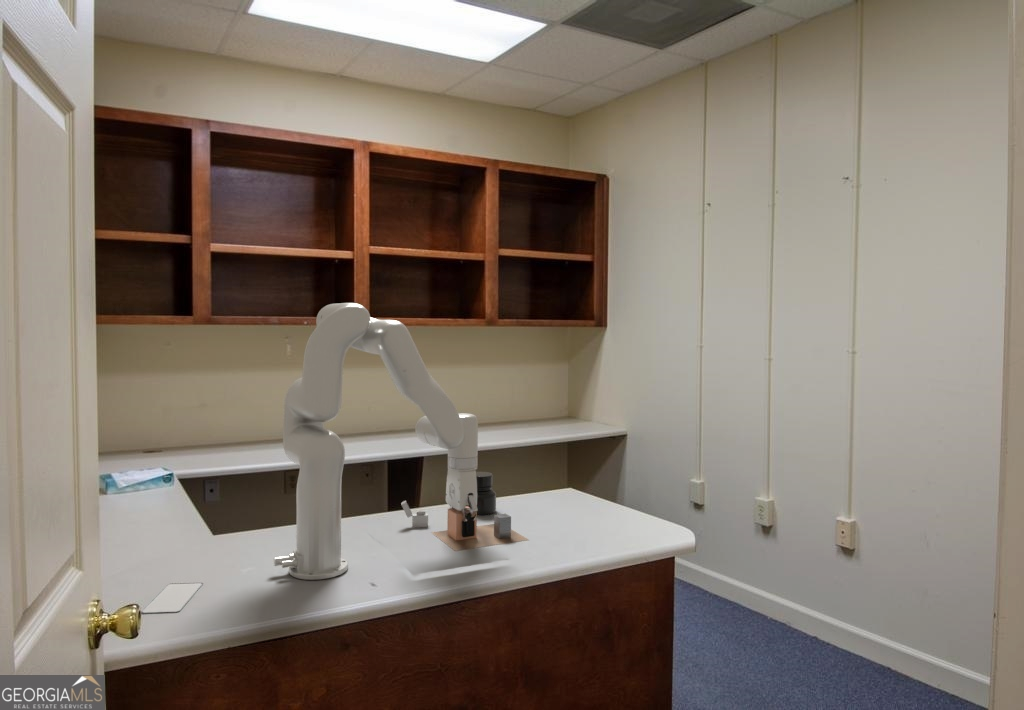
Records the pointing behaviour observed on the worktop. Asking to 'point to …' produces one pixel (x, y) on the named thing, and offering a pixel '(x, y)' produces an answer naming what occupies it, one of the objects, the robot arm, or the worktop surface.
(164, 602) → the smartphone
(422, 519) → the lighter
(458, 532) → the salmon orange block
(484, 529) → the base board
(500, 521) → the post
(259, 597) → the worktop surface
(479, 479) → the ink bottle
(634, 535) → the worktop surface
